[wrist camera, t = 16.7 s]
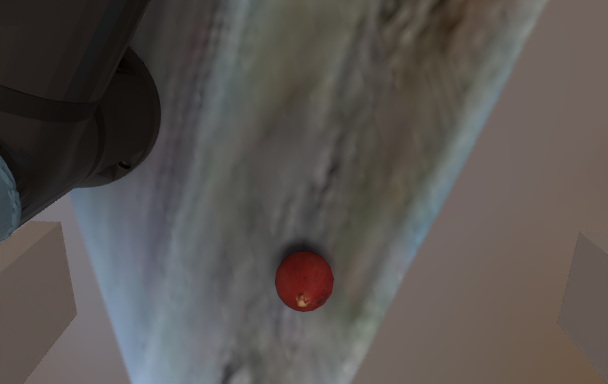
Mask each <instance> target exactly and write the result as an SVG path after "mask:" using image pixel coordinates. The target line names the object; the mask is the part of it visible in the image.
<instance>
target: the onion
mask: <svg viewBox="0 0 608 384" xmlns="http://www.w3.org/2000/svg"><path fill="white" fill-rule="evenodd" d="M333 281H334V277H333V274H332V271H331V268H330V267H329V265H328V264H327V263H326V261H325V260H324V259H323V258H322V257H321V256H319V255H317V254H315V253H313V252H305V251H302V252H297V253H293V254H291V255H289V256H288V257H286V258H285V259H284V260H283V261H282V263H281V264H280V266H279V267H278V269H277V272H276V278H275V286H276V289H277V293H278V296H279V297H280V299H281V300H282V301H283V302H284V303H285V305H287V306H288V307H290V308H292V309H294V310H296V311H302V312H306V311H313V310H315V309H317V308H318V307H320V306H322V305H323V304H324V303H325V302H326V300H327V299H328V298H329V296H330V295H331V293H332V288H333Z"/></svg>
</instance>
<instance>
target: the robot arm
mask: <svg viewBox="0 0 608 384" xmlns="http://www.w3.org/2000/svg"><path fill="white" fill-rule="evenodd" d="M149 2H150V0H0V242H2V241H3V240H5V239H6V238H7V239H6V240H5V241H3V242H2V243H1V244H0V384H23V383H24V382H25V381H26V379H27V378H28V377H29V376H30V374H31V373H32V372H33V370H34V369H35V368H36V367H37V365H38V364H39V363H40V361H41V360H42V359H43V357H44V356H45V355H46V354H47V352H48V351H49V350H50V348H51V347H52V346H53V344H54V343H55V342H56V341H57V339H58V338H59V337H60V335H61V334H62V333H63V332H64V330H65V329H66V327H67V326H68V325H69V324H70V322H71V321H72V320H73V318H74V317H75V316H76V315H77V311H76V306H75V301H74V295H73V289H72V283H71V278H70V272H69V266H68V261H67V256H66V250H65V244H64V239H63V233H62V227H61V222H35V221H33V222H32V221H31V222H29V223H28V224H26V225H25V226H24V227H22V228H21V229H19V230H18V231H17V232H16V233H14V234H13V235H11V234H12V232H13V231H14V230H16V229H17V228H19V227H20V226H21V225H23V224H24V223H26V222H27V221H28V220H30V219H31V218H33V217H34V216H35V215H37V214H38V213H40V212H41V211H42V210H44V209H45V208H47V207H48V206H49V205H51V204H52V203H54V202H55V201H57V200H58V199H59V198H61V197H62V196H64V195H65V194H66V193H68V192H69V191H71V190H72V189H73V188H86V187H96V186H101V185H105V184H109V183H111V182H114V181H116V180H118V179H120V178H122V177H124V176H125V175H127V174H128V173H129V172H131V171H132V170H133V169H134V168H136V167H137V166H138V165H139V164H140V163H141V162H142V161H143V160H144V159H145V158H146V157H147V156H148V154H149V153H150V151H151V149H152V148H153V146H154V144H155V141H156V139H157V136H158V132H159V127H160V118H161V111H160V102H159V96H158V92H157V89H156V86H155V84H154V81H153V79H152V77H151V75H150V73H149V71H148V69H147V68H146V66H145V65H144V63H143V62H142V61H141V59H140V58H139V57H138V56H137V55H136V53H135V52H134V51H133V50H132V49H131V48H130V47H128V45H129V43H130V41H131V39H132V37H133V35H134V33H135V31H136V28H137V26H138V24H139V22H140V20H141V18H142V16H143V14H144V12H145V10H146V8H147V6H148V4H149ZM8 237H9V238H8ZM557 323H558V325H559V326H560V327H561V328H562V330H563V331H564V332H565V333H566V335H567V336H568V337H569V338H570V340H571V341H572V342H573V343H574V344H575V346H576V347H577V348H578V349H579V351H580V352H581V353H582V354H583V356H584V357H585V358H586V359H587V360H588V362H589V363H590V364H591V365H592V367H593V368H594V369H595V370H596V372H598V374H599V375H600V377H601V378H602V379H603V380H604V381H605V383H606V384H608V232H591V231H589V232H588V231H579V234H578V238H577V242H576V246H575V250H574V254H573V258H572V263H571V267H570V271H569V275H568V279H567V284H566V287H565V291H564V296H563V300H562V304H561V308H560V312H559V316H558V320H557Z"/></svg>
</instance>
